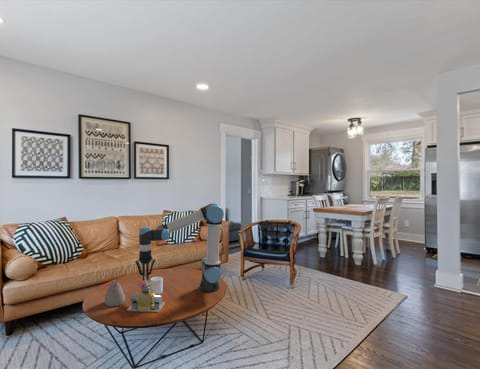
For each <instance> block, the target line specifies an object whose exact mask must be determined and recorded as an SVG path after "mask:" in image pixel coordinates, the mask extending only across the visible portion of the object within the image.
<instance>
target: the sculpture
mask: <svg viewBox="0 0 480 369" xmlns="http://www.w3.org/2000/svg"><path fill="white" fill-rule="evenodd" d="M124 292H125V291H124V290H123V288H122V286H121V284H120V283H119V281H115V280H114V279H113V280H112V281H111V283H110V284H109V286H108V288H107V291H106V292H105V293H106V294H105V297H104V303H105V305H106V307H111V308H113V307H119V306H122V305H124V304H125V301H126V295H125V293H124Z"/></svg>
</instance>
